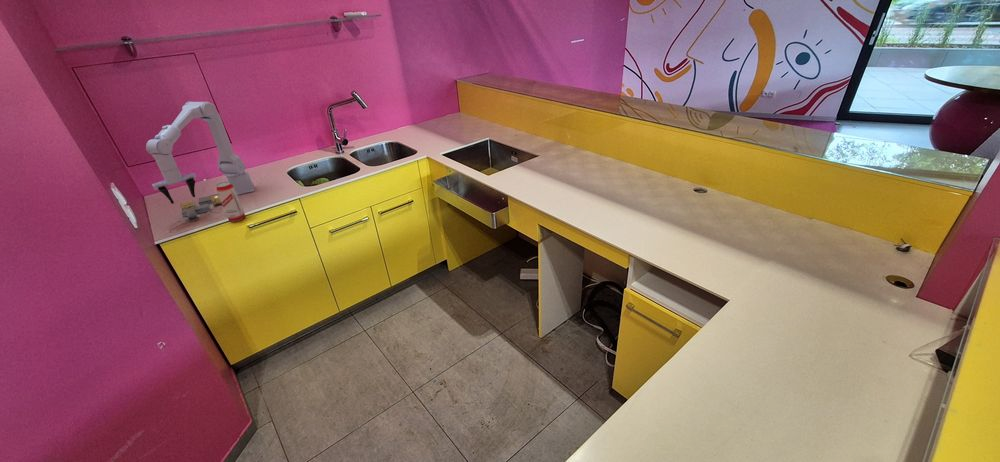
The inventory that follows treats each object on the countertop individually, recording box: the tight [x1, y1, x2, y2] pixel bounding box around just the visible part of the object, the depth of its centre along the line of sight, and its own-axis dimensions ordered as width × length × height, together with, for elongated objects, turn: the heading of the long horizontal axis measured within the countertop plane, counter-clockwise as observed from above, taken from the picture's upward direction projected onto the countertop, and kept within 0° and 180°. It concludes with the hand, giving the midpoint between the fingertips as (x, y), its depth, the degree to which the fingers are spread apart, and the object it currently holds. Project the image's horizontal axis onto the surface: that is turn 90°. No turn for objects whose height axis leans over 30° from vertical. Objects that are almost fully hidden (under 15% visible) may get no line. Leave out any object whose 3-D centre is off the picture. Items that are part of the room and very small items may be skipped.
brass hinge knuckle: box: [179, 200, 211, 218], centre depth 184 cm, size 10×8×4 cm
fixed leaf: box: [198, 193, 222, 206], centre depth 191 cm, size 10×10×4 cm
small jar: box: [180, 201, 199, 220], centre depth 176 cm, size 4×4×7 cm
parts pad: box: [185, 215, 199, 223], centre depth 178 cm, size 4×4×1 cm
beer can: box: [216, 181, 246, 223], centre depth 173 cm, size 6×6×16 cm
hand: (183, 199), depth 173 cm, fingers open, 7 cm apart
